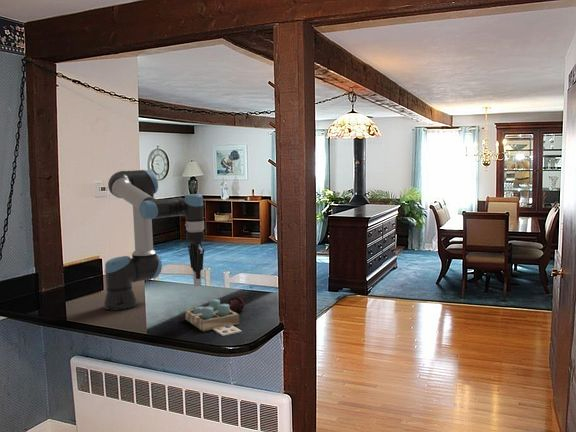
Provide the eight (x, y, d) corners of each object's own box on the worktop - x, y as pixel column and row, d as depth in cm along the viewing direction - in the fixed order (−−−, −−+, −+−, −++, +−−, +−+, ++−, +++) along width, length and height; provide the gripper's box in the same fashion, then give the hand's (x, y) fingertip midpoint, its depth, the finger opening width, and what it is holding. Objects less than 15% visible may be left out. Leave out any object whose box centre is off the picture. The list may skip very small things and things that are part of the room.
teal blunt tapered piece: (216, 316, 216) (216, 305, 216) (226, 313, 219) (226, 303, 218) (221, 318, 212) (220, 307, 212) (231, 316, 215) (231, 305, 214)
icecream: (237, 302, 223) (252, 296, 237) (223, 297, 226) (238, 291, 240) (234, 317, 224) (249, 311, 238) (219, 312, 227) (235, 306, 241)
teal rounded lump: (192, 318, 221) (191, 307, 220) (202, 316, 223) (202, 305, 223) (196, 321, 217) (195, 310, 216) (206, 319, 219) (206, 308, 219)
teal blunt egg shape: (207, 310, 224) (207, 300, 224) (217, 308, 227) (217, 298, 227) (211, 313, 220) (211, 302, 220) (222, 311, 223) (221, 300, 222)
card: (212, 329, 207) (212, 327, 207) (230, 325, 212) (230, 323, 211) (222, 336, 199) (222, 334, 199) (241, 332, 203) (241, 330, 203)
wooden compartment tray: (185, 319, 222) (185, 310, 222) (219, 312, 231) (219, 304, 230) (203, 331, 205) (202, 321, 205) (239, 323, 214) (238, 314, 213)
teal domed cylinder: (200, 319, 212) (199, 308, 212) (211, 317, 215) (210, 306, 215) (204, 321, 208) (204, 310, 208) (215, 319, 211) (215, 308, 210)
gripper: (181, 230, 220) (183, 284, 223) (192, 233, 209) (194, 290, 211) (197, 228, 224) (200, 281, 226) (209, 231, 213) (211, 287, 215)
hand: (197, 285), depth 219 cm, fingers closed
